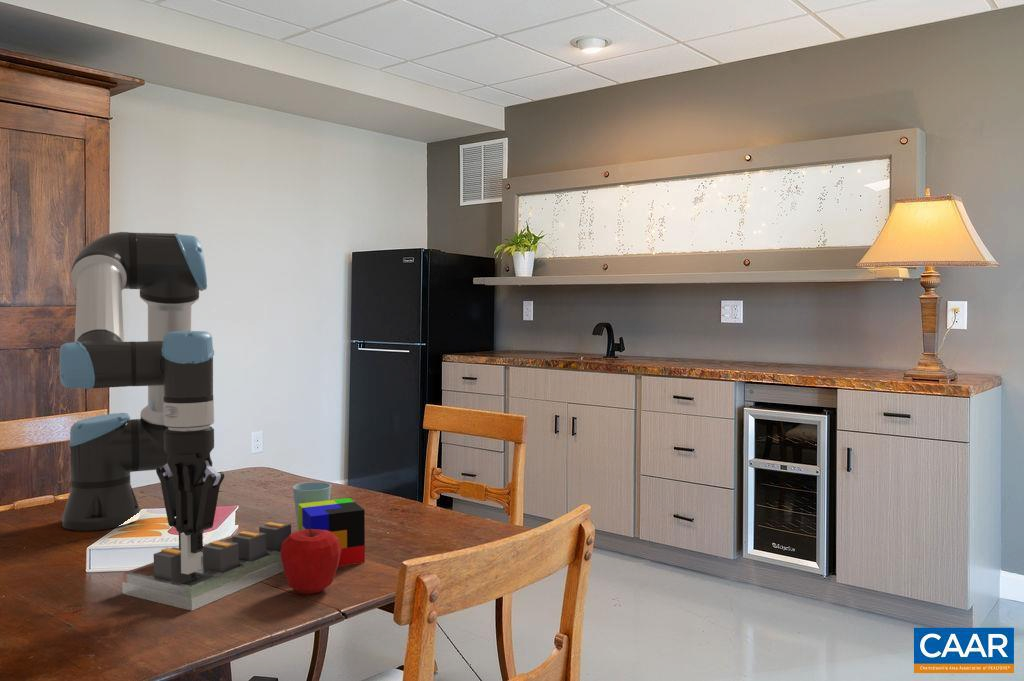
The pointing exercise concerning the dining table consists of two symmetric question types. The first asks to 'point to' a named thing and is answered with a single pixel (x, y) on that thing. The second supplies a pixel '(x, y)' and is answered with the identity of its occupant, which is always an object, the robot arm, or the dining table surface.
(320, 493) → the cup
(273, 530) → the block
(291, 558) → the apple
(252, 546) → the block
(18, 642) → the dining table surface
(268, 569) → the panel
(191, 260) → the robot arm
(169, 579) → the block
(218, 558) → the block
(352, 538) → the puzzle toy
